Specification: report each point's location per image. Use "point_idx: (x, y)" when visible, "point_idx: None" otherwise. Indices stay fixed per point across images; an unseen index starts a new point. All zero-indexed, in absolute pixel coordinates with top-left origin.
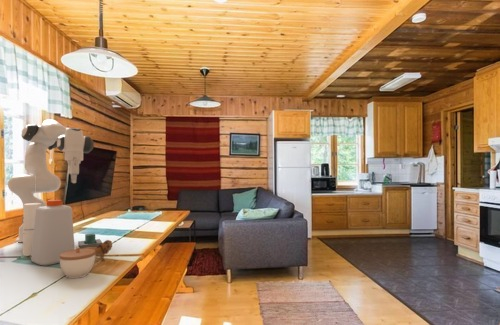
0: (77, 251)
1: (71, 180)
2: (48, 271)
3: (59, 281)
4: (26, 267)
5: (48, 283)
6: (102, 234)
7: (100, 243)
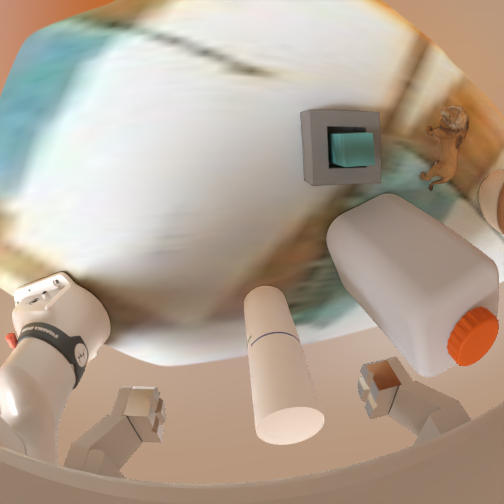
0: None
1: (161, 428)
2: None
3: None
4: None
5: (494, 238)
6: (57, 110)
7: (379, 118)
